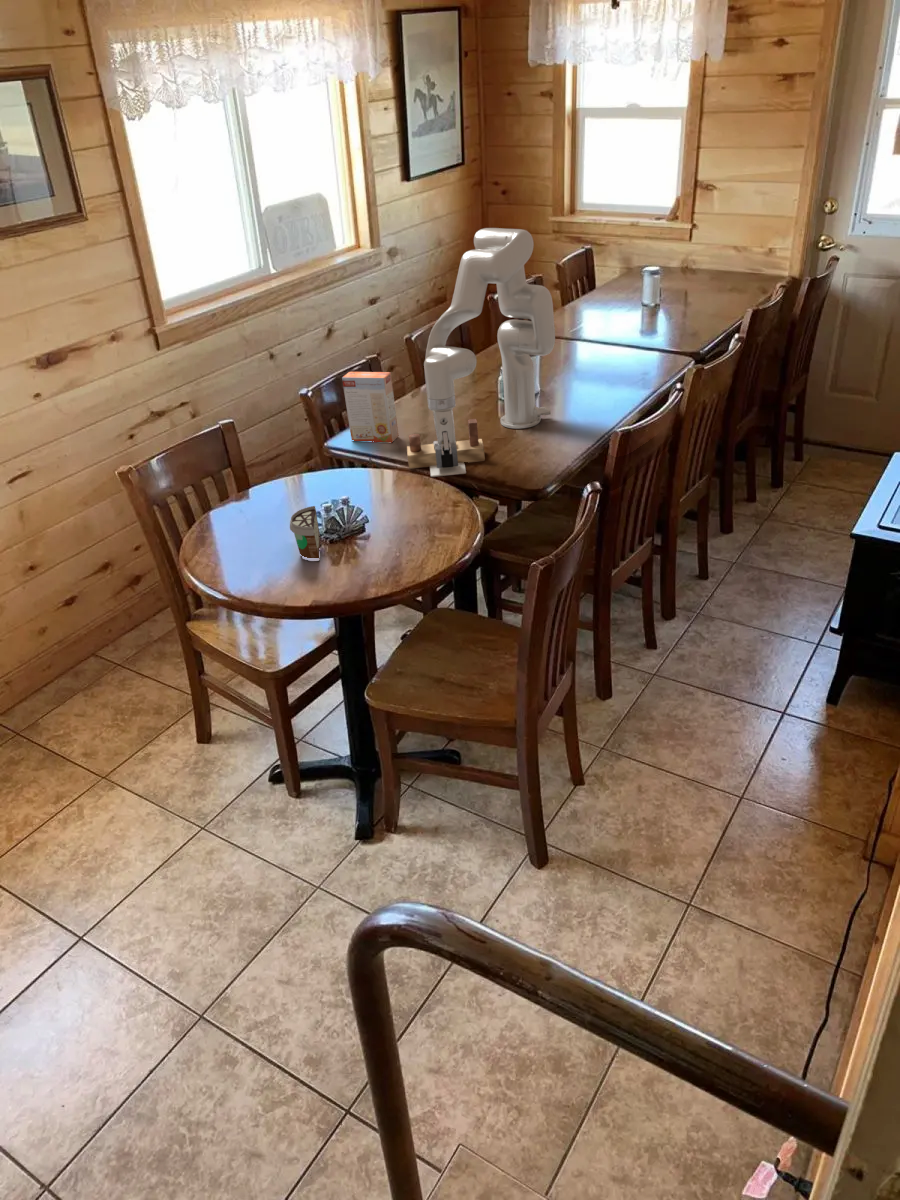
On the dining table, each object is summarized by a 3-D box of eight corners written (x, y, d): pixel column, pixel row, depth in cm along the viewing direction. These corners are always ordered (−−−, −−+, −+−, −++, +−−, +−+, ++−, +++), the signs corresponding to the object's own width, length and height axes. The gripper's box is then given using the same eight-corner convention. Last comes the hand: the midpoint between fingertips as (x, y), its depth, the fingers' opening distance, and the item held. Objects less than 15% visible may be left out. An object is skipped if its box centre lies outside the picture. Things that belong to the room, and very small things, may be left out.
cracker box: (399, 436, 281) (391, 371, 270) (392, 444, 276) (383, 377, 265) (358, 434, 285) (349, 370, 274) (351, 442, 281) (341, 376, 270)
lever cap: (457, 459, 257) (455, 438, 253) (458, 465, 253) (456, 444, 250) (436, 461, 257) (434, 440, 253) (437, 468, 253) (434, 446, 249)
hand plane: (482, 451, 265) (480, 415, 259) (484, 460, 259) (482, 424, 254) (408, 459, 265) (404, 423, 259) (409, 468, 259) (404, 432, 253)
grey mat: (464, 463, 259) (464, 462, 259) (466, 473, 253) (466, 472, 253) (429, 467, 259) (429, 465, 259) (430, 477, 253) (430, 475, 253)
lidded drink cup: (297, 543, 225) (290, 507, 220) (321, 540, 226) (315, 504, 220) (294, 567, 215) (286, 530, 210) (319, 564, 215) (312, 527, 210)
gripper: (457, 410, 238) (462, 474, 248) (453, 390, 252) (458, 450, 262) (429, 413, 238) (435, 476, 248) (426, 392, 252) (432, 453, 262)
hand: (447, 462), depth 255 cm, fingers closed on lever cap, 4 cm apart
